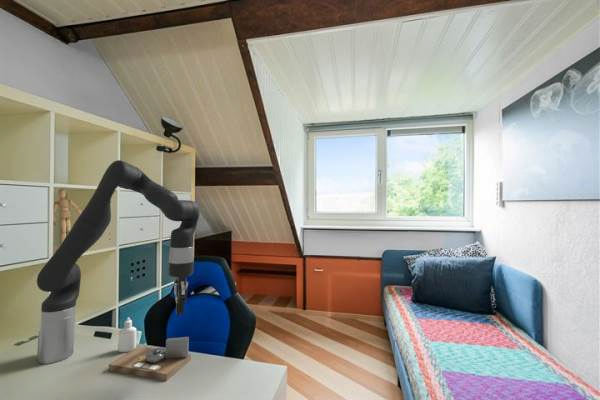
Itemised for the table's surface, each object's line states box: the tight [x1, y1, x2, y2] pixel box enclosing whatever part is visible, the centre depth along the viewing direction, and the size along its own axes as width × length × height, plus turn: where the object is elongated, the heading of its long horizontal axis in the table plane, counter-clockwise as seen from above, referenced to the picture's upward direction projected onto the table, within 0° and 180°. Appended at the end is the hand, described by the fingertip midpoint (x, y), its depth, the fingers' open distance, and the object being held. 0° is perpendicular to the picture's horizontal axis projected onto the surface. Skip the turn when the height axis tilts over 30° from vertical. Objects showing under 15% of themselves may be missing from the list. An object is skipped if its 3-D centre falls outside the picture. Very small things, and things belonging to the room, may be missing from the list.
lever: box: [138, 336, 190, 364], centre depth 91 cm, size 6×16×6 cm, turn 102°
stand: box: [108, 345, 192, 381], centre depth 91 cm, size 22×12×2 cm, turn 77°
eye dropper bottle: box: [117, 317, 138, 353], centre depth 101 cm, size 4×6×12 cm
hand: (179, 313), depth 88 cm, fingers closed
